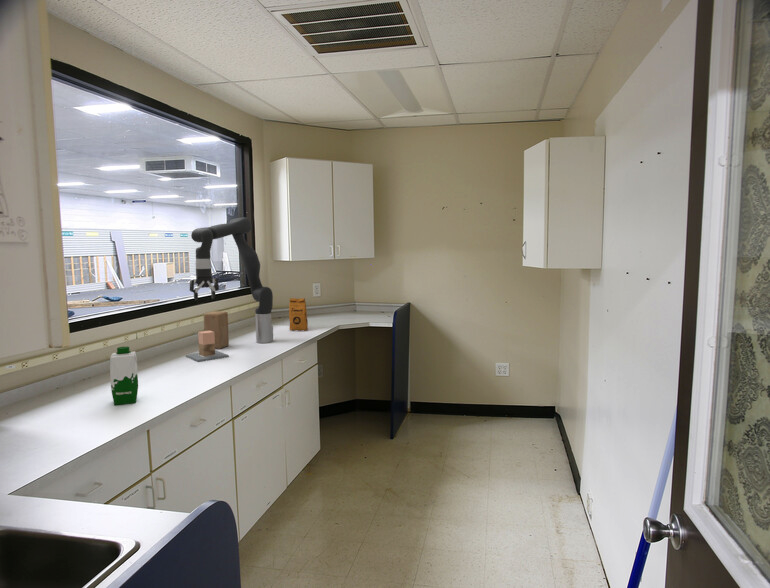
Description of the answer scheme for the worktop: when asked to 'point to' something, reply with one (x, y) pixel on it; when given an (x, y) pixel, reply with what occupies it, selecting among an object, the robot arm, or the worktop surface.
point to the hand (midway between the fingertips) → (204, 299)
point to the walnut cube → (207, 349)
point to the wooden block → (217, 327)
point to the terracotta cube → (206, 337)
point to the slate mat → (204, 358)
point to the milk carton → (124, 376)
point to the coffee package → (298, 314)
